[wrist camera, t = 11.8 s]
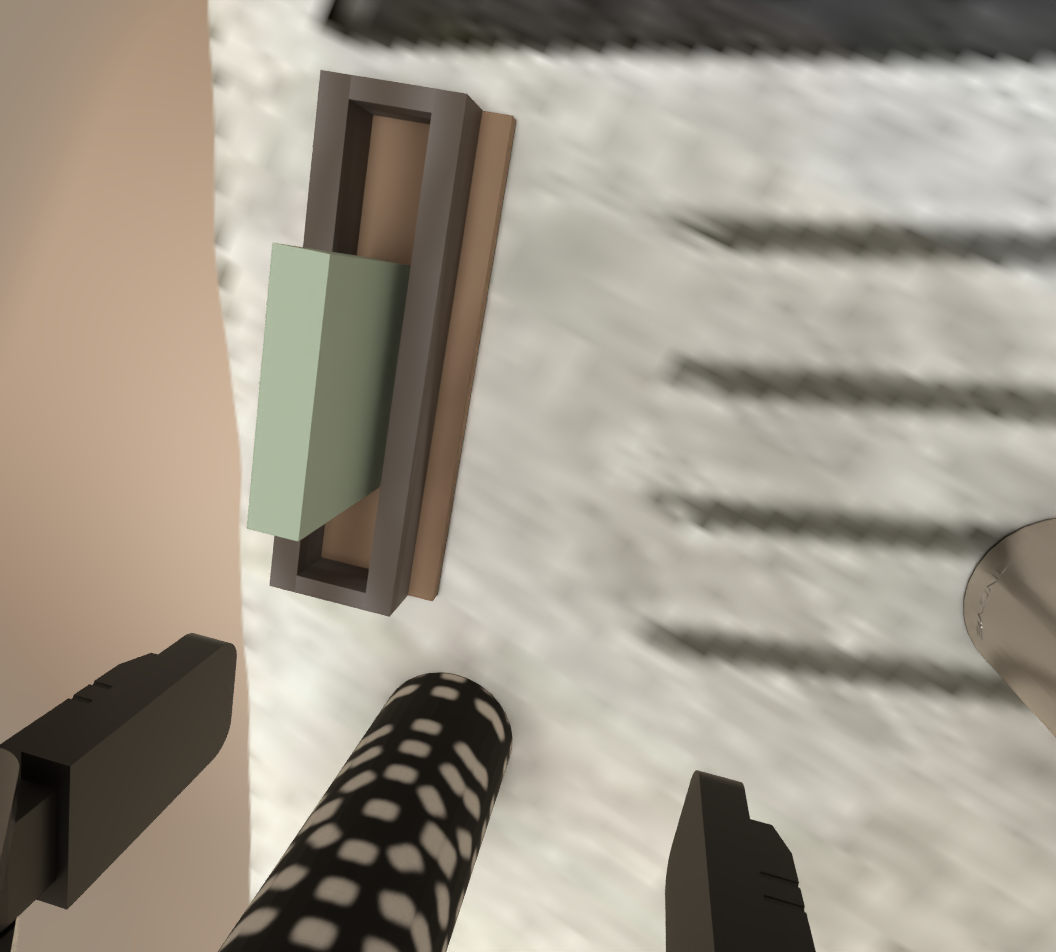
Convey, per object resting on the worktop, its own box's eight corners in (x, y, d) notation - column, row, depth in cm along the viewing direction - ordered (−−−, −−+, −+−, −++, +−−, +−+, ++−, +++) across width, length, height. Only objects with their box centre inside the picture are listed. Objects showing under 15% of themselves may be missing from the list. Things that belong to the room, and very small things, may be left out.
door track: (516, 120, 36) (499, 99, 32) (437, 594, 43) (415, 623, 39) (327, 89, 37) (290, 64, 33) (280, 555, 44) (244, 579, 40)
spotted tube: (521, 689, 43) (413, 998, 24) (502, 806, 45) (388, 1174, 26) (389, 659, 44) (185, 930, 25) (376, 774, 46) (179, 1105, 27)
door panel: (413, 266, 38) (330, 254, 28) (382, 485, 41) (298, 541, 31) (369, 257, 38) (272, 242, 28) (342, 475, 41) (246, 528, 31)
